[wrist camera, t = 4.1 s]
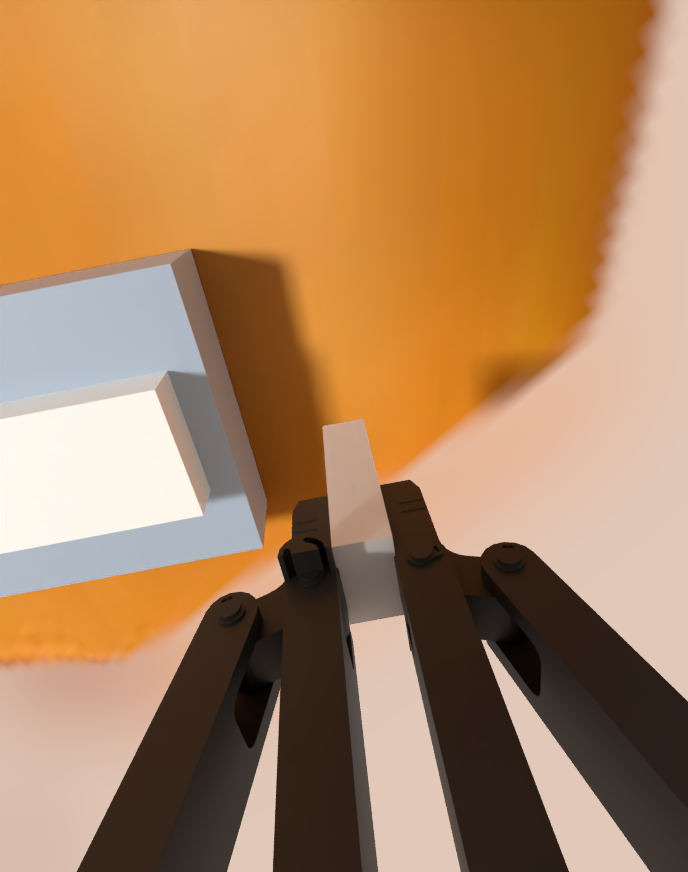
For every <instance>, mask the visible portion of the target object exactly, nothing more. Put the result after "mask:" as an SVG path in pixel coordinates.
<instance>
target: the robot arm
mask: <svg viewBox="0 0 688 872" xmlns="http://www.w3.org/2000/svg"><path fill="white" fill-rule="evenodd" d="M322 427H323V440H324V454H325V467H326V480H327V493H328V496H325V497H320V498H314V499H309V500H303V501H299V503H298V504H297V506H296V508H295V509H294V511H293V515H292V525H293V526H292V539H291V540H289V541H288V542H286V543H285V544H284V545H283V546H282V547H281V549H280V550H279V553H278V556H277V557H278V560H279V563H280V567H281V570H282V573H283V576H284V580H285V582H284V583H283V584H282V585H281V586H280V587H278V588H277V589H276V590H274V591H272V592H271V593H269V594H267V595H264V596H262V597H260V598H258V599H255V598H254V597H253V596H252V595H250V594H249V593H244V592H235V593H230V594H227V595H225V596H223V597H221V598H219V599H218V600H217V601H215V602H214V603H213V604H212V605H211V606H210V608H209V609H208V610H207V612H206V613H205V615H204V617H203V620H202V621H201V623H200V625H199V628H198V629H197V631H196V634H195V635H194V637H193V639H192V641H191V644H190V645H189V648H188V649H187V651H186V654H185V656H184V658H183V660H182V662H181V664H180V666H179V668H178V670H177V672H176V674H175V676H174V678H173V680H172V682H171V684H170V686H169V688H168V690H167V692H166V694H165V696H164V698H163V700H162V702H161V704H160V706H159V708H158V710H157V712H156V714H155V716H154V718H153V720H152V722H151V724H150V726H149V728H148V730H147V732H146V734H145V736H144V738H143V740H142V742H141V744H140V746H139V748H138V750H137V752H136V754H135V756H134V758H133V760H132V762H131V764H130V766H129V768H128V770H127V772H126V774H125V776H124V778H123V780H122V782H121V784H120V786H119V788H118V790H117V792H116V794H115V796H114V798H113V800H112V802H111V804H110V806H109V808H108V810H107V812H106V815H105V816H104V818H103V820H102V822H101V824H100V826H99V828H98V830H97V832H96V834H95V836H94V838H93V840H92V843H91V844H90V846H89V848H88V850H87V852H86V854H85V856H84V858H83V860H82V862H81V864H80V867H79V868H78V870H77V872H227V869H228V865H229V862H230V859H231V855H232V852H233V848H234V845H235V842H236V838H237V835H238V832H239V828H240V825H241V821H242V818H243V814H244V811H245V807H246V804H247V800H248V797H249V794H250V790H251V787H252V783H253V780H254V776H255V773H256V769H257V766H258V762H259V759H260V756H261V752H262V749H263V745H264V742H265V738H266V735H267V732H268V728H269V725H270V721H271V718H272V715H273V711H274V707H275V704H276V701H277V697H278V694H279V690H280V689H281V690H280V713H279V714H280V715H279V737H278V761H277V762H278V763H277V785H276V809H275V834H274V858H273V872H378V867H377V857H376V848H375V840H374V830H373V821H372V812H371V804H370V803H371V802H370V793H369V784H368V776H367V766H366V757H365V748H364V738H363V730H362V720H361V711H360V702H359V694H358V684H357V675H356V666H355V656H354V648H353V640H352V636H351V632H350V627H349V623H350V624H355V623H360V622H366V621H371V620H377V619H382V618H388V617H393V616H399V615H405V620H406V627H407V633H408V639H409V645H410V651H412V655H413V659H414V664H415V668H416V673H417V677H418V682H419V686H420V691H421V695H422V700H423V704H424V709H425V713H426V718H427V722H428V726H429V730H430V735H431V740H432V744H433V749H434V753H435V758H436V762H437V767H438V771H439V776H440V780H441V785H442V789H443V793H444V797H445V802H446V807H447V811H448V816H449V820H450V824H451V829H452V834H453V838H454V843H455V847H456V851H457V856H458V860H459V865H460V869H461V872H569V871H568V868H567V865H566V863H565V860H564V857H563V855H562V852H561V850H560V847H559V844H558V842H557V839H556V836H555V834H554V831H553V828H552V826H551V823H550V821H549V818H548V815H547V813H546V810H545V807H544V805H543V802H542V799H541V797H540V794H539V791H538V789H537V786H536V784H535V781H534V778H533V776H532V773H531V770H530V768H529V765H528V762H527V760H526V757H525V754H524V752H523V749H522V747H521V744H520V741H519V739H518V736H517V733H516V731H515V728H514V726H513V723H512V720H511V718H510V715H509V712H508V710H507V707H506V704H505V702H504V699H503V697H502V694H501V691H500V688H499V686H498V683H497V681H496V678H495V675H494V673H493V670H492V667H491V665H490V662H489V659H488V657H487V654H486V651H485V649H484V646H483V644H482V641H481V640H486V641H487V643H488V645H489V647H490V648H491V649H492V651H493V652H494V654H495V655H496V656H497V658H498V659H499V661H500V662H501V663H502V665H503V666H504V667H505V669H506V670H507V672H508V673H509V675H510V676H511V677H512V679H513V680H514V682H515V683H516V684H517V686H518V687H519V688H520V690H521V691H522V693H523V694H524V696H525V697H526V698H527V700H528V701H529V703H530V704H531V705H532V707H533V708H534V709H535V711H536V712H537V714H538V715H539V717H540V718H541V719H542V721H543V722H544V724H545V725H546V726H547V728H548V729H549V730H550V732H551V733H552V735H553V736H554V738H555V739H556V740H557V742H558V743H559V745H560V746H561V747H562V749H563V750H564V751H565V753H566V754H567V756H568V757H569V759H570V760H571V761H572V763H573V764H574V766H575V767H576V768H577V770H578V771H579V773H580V774H581V775H582V776H583V778H584V779H585V781H586V782H587V784H588V785H589V787H590V788H591V789H592V791H593V792H594V794H595V795H596V796H597V798H598V799H599V800H600V802H601V803H602V805H603V806H604V807H605V809H606V810H607V812H608V813H609V814H610V816H611V817H612V819H613V820H614V822H615V823H616V824H617V826H618V827H619V828H620V830H621V831H622V833H623V834H624V836H625V837H626V838H627V840H628V841H629V842H630V844H631V845H632V847H633V848H634V850H635V851H636V852H637V854H638V855H639V856H640V858H641V859H642V861H643V862H644V864H646V866H647V868H648V869H649V871H650V872H688V701H687V700H686V699H685V698H684V697H682V695H681V694H679V693H678V692H677V691H676V690H675V689H674V688H673V687H672V686H671V685H670V684H669V683H668V682H667V681H666V680H665V679H664V678H663V677H662V676H661V675H660V674H659V673H658V672H657V671H656V670H655V669H654V668H653V667H652V666H651V665H650V664H649V663H648V662H646V661H645V660H644V659H643V658H642V657H641V656H640V655H639V654H638V653H637V652H636V651H635V650H634V649H633V648H632V647H631V646H630V645H629V644H628V643H627V642H626V641H625V640H624V639H623V638H622V637H621V636H620V635H618V633H617V632H616V631H614V630H613V629H612V628H611V627H610V626H609V625H608V624H607V623H606V622H605V621H604V620H603V619H602V618H601V617H600V616H599V615H598V614H597V613H596V612H595V611H594V610H593V609H592V608H591V607H590V606H589V605H588V604H587V603H586V602H584V600H582V599H581V598H580V597H579V596H578V595H577V594H576V593H575V592H574V591H573V590H572V589H571V588H570V587H569V586H568V585H567V584H566V583H565V582H564V581H563V580H562V579H561V578H560V577H559V576H558V575H557V574H556V573H555V572H554V571H553V570H551V568H549V567H548V566H547V565H546V564H545V563H544V562H543V561H542V560H541V559H540V558H539V557H538V556H537V555H536V554H535V553H534V552H533V551H531V550H530V549H528V548H527V547H525V546H523V545H520V544H517V543H509V542H502V543H498V544H494V545H492V546H490V547H489V548H487V549H486V550H485V551H484V552H483V554H482V555H481V557H474V556H464V555H459V554H456V553H453V552H451V551H449V550H447V549H446V548H445V547H444V545H442V544H441V542H440V541H439V539H438V536H437V533H436V531H435V528H434V525H433V523H432V520H431V517H430V515H429V512H428V509H427V506H426V504H425V501H424V498H423V496H422V493H421V490H420V488H419V487H418V486H416V485H415V484H414V483H413V482H412V481H410V480H406V481H400V482H395V483H390V484H384V485H380V484H379V480H378V476H377V472H376V468H375V464H374V460H373V456H372V452H371V448H370V444H369V440H368V436H367V431H366V427H365V423H364V419H358V420H353V421H347V422H342V423H337V424H331V425H326V426H322ZM280 687H281V688H280Z"/></svg>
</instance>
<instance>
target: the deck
mask: <svg viewBox="0 0 688 872" xmlns="http://www.w3.org/2000/svg"><path fill="white" fill-rule="evenodd" d="M164 371H167V372H168V374H169V377H170V380H171V383H172V385H173V388H174V391H175V394H176V396H177V399H178V402H179V404H180V407H181V410H182V413H183V415H184V418H185V421H186V424H187V426H188V429H189V432H190V434H191V437H192V440H193V443H194V445H195V448H196V451H197V454H198V456H199V459H200V462H201V464H202V467H203V470H204V473H205V475H206V478H207V481H208V484H209V486H210V489H211V490H210V494H209V497H208V501H207V505H206V508H205V512H204V516H199V517H193V518H188V519H183V520H178V521H172V522H167V523H162V524H156V525H151V526H146V527H141V528H135V529H130V530H125V531H119V532H114V533H109V534H104V535H98V536H93V537H88V538H82V539H77V540H72V541H67V542H61V543H56V544H51V545H45V546H40V547H35V548H30V549H24V550H19V551H14V552H8V553H3V554H0V597H5V596H11V595H16V594H21V593H26V592H32V591H37V590H42V589H48V588H53V587H58V586H64V585H69V584H74V583H80V582H85V581H90V580H96V579H101V578H106V577H111V576H117V575H122V574H127V573H133V572H138V571H143V570H149V569H154V568H159V567H165V566H170V565H175V564H180V563H186V562H191V561H196V560H202V559H207V558H212V557H218V556H223V555H228V554H234V553H239V552H244V551H249V550H255V549H260V548H263V544H264V533H265V523H266V512H267V498H266V495H265V492H264V489H263V485H262V482H261V479H260V475H259V472H258V469H257V465H256V462H255V459H254V456H253V452H252V449H251V446H250V442H249V439H248V436H247V432H246V429H245V426H244V423H243V419H242V416H241V413H240V409H239V406H238V403H237V399H236V396H235V393H234V390H233V386H232V383H231V380H230V376H229V373H228V370H227V367H226V363H225V360H224V357H223V353H222V350H221V347H220V343H219V340H218V337H217V334H216V330H215V327H214V324H213V320H212V317H211V314H210V310H209V307H208V304H207V301H206V297H205V294H204V291H203V287H202V284H201V281H200V277H199V274H198V271H197V268H196V264H195V261H194V258H193V254H192V251H191V249H187V250H182V251H177V252H171V253H166V254H161V255H156V256H151V257H146V258H140V259H135V260H130V261H125V262H120V263H115V264H110V265H104V266H99V267H94V268H89V269H84V270H79V271H73V272H68V273H63V274H58V275H53V276H48V277H43V278H37V279H32V280H27V281H22V282H17V283H12V284H6V285H1V286H0V403H2V402H8V401H13V400H18V399H23V398H28V397H34V396H39V395H44V394H49V393H55V392H60V391H65V390H70V389H75V388H81V387H86V386H91V385H96V384H101V383H107V382H112V381H117V380H122V379H128V378H133V377H138V376H143V375H148V374H154V373H159V372H164Z"/></svg>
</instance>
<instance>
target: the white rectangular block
mask: <svg viewBox="0 0 688 872" xmlns="http://www.w3.org/2000/svg"><path fill="white" fill-rule="evenodd" d="M210 490H211V489H210V486H209V484H208V481H207V478H206V475H205V473H204V470H203V467H202V464H201V462H200V459H199V456H198V454H197V451H196V448H195V445H194V443H193V440H192V437H191V434H190V432H189V429H188V426H187V424H186V421H185V418H184V415H183V413H182V410H181V407H180V404H179V402H178V399H177V396H176V394H175V391H174V388H173V385H172V383H171V380H170V377H169V374H168V372H167V371H164V372H159V373H154V374H148V375H143V376H138V377H133V378H128V379H122V380H117V381H112V382H107V383H101V384H96V385H91V386H86V387H81V388H75V389H70V390H65V391H60V392H55V393H49V394H44V395H39V396H34V397H28V398H23V399H18V400H13V401H8V402H2V403H0V554H3V553H8V552H14V551H19V550H24V549H30V548H35V547H40V546H45V545H51V544H56V543H61V542H67V541H72V540H77V539H82V538H88V537H93V536H98V535H104V534H109V533H114V532H119V531H125V530H130V529H135V528H141V527H146V526H151V525H156V524H162V523H167V522H172V521H178V520H183V519H188V518H193V517H199V516H204V512H205V508H206V505H207V501H208V497H209V494H210Z"/></svg>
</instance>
